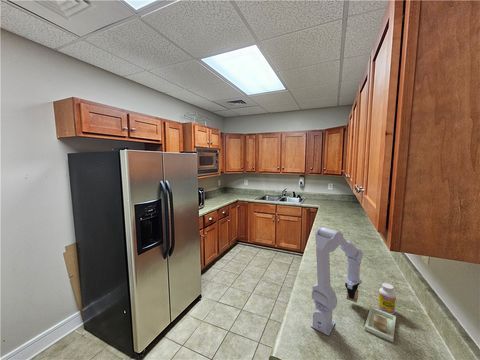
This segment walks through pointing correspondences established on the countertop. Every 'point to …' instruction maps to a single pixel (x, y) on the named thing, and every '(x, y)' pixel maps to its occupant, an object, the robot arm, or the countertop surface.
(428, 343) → the countertop surface
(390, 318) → the tray
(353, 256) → the robot arm
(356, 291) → the cube
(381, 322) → the cube
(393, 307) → the supplement bottle
